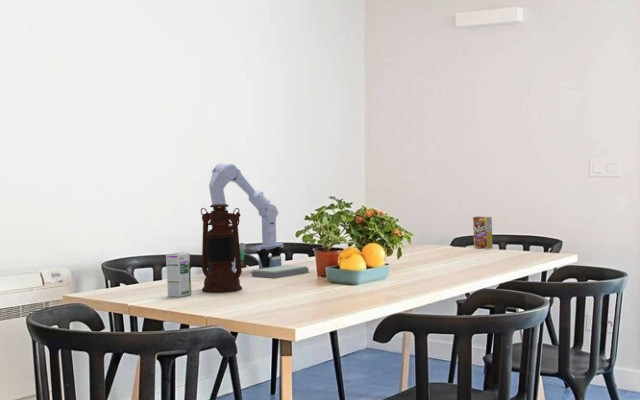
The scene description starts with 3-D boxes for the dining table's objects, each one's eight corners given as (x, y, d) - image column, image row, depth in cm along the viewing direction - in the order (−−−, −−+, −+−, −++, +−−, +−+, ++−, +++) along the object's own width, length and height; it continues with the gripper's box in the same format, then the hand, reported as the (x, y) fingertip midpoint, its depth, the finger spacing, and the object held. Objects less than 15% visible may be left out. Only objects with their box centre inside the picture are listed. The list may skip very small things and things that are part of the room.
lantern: (190, 291, 312) (187, 205, 311) (215, 286, 324) (212, 203, 323) (229, 293, 303) (227, 205, 302) (254, 288, 315) (251, 203, 314)
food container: (233, 269, 374) (232, 245, 374) (222, 269, 378) (221, 245, 378) (252, 266, 384) (251, 243, 384) (241, 265, 388) (241, 242, 388)
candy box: (473, 248, 436) (472, 216, 436) (479, 247, 439) (478, 216, 438) (486, 249, 429) (485, 217, 429) (492, 248, 432) (492, 216, 431)
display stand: (274, 278, 342) (274, 271, 341) (251, 276, 349) (251, 270, 349) (308, 272, 357) (308, 266, 357) (286, 270, 365) (286, 264, 364)
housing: (273, 272, 363) (272, 257, 363) (258, 271, 368) (258, 256, 368) (281, 270, 367) (281, 256, 367) (267, 269, 372) (266, 255, 372)
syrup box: (180, 297, 299) (179, 254, 298) (167, 296, 302) (165, 253, 301) (191, 295, 304) (190, 252, 303) (178, 294, 307) (176, 251, 306)
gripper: (263, 235, 359) (265, 269, 359) (288, 232, 370) (289, 265, 370) (251, 234, 363) (252, 268, 364) (275, 231, 374) (276, 264, 375)
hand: (270, 266), depth 367 cm, fingers open, 6 cm apart
